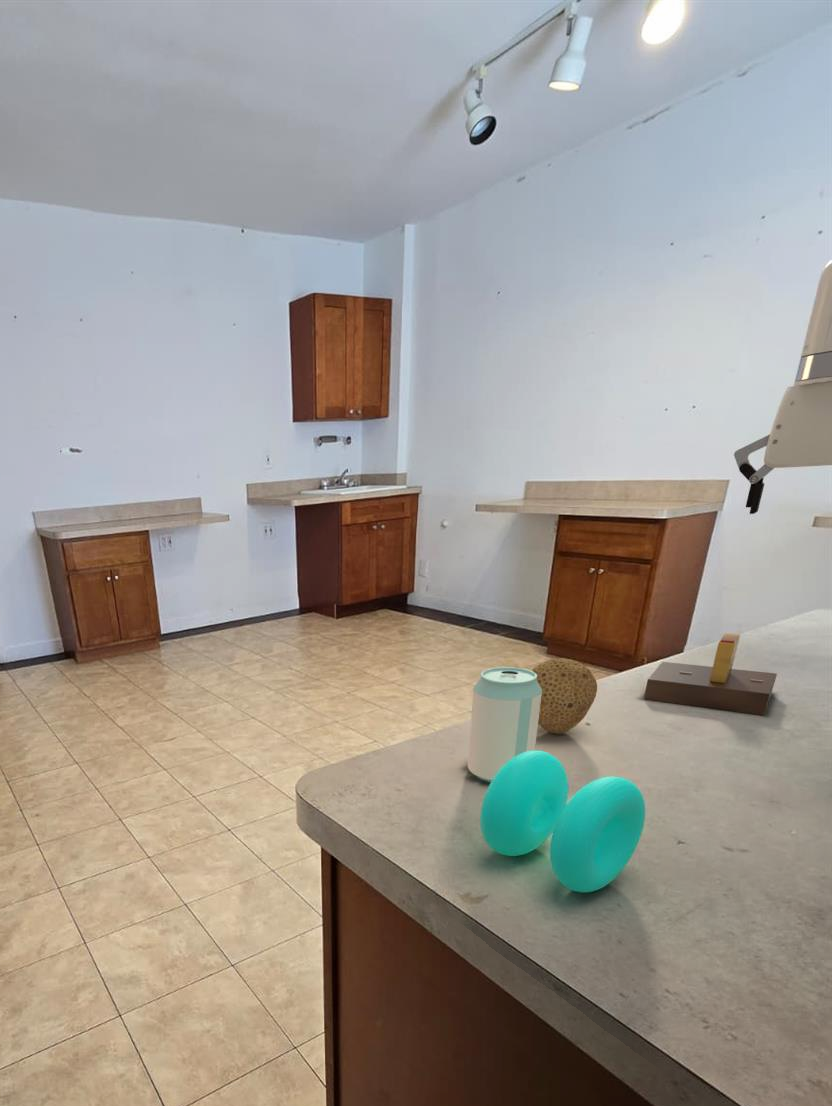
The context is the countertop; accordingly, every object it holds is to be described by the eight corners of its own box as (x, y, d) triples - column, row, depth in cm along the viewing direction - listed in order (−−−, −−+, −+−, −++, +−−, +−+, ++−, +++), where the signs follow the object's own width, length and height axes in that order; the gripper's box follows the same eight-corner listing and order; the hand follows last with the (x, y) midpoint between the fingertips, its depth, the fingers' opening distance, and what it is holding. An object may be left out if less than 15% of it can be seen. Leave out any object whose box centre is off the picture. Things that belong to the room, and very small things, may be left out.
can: (456, 765, 77) (462, 669, 72) (509, 757, 78) (519, 661, 73) (487, 790, 70) (496, 687, 65) (544, 781, 72) (558, 678, 67)
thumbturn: (715, 670, 92) (725, 631, 89) (730, 672, 91) (740, 632, 88) (709, 681, 88) (719, 640, 86) (725, 683, 87) (735, 641, 85)
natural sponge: (522, 746, 80) (531, 670, 76) (506, 721, 88) (513, 651, 84) (599, 745, 79) (612, 667, 75) (575, 719, 87) (586, 648, 83)
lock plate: (771, 693, 90) (777, 672, 89) (764, 715, 84) (770, 692, 82) (658, 680, 99) (662, 660, 98) (643, 699, 92) (647, 678, 91)
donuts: (538, 827, 63) (550, 733, 59) (640, 872, 55) (662, 768, 51) (469, 862, 58) (477, 764, 54) (569, 917, 51) (588, 807, 46)
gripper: (925, 360, 79) (878, 508, 86) (753, 381, 90) (725, 511, 97) (929, 356, 74) (880, 513, 81) (747, 378, 85) (717, 516, 92)
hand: (795, 512), depth 89 cm, fingers open, 9 cm apart
